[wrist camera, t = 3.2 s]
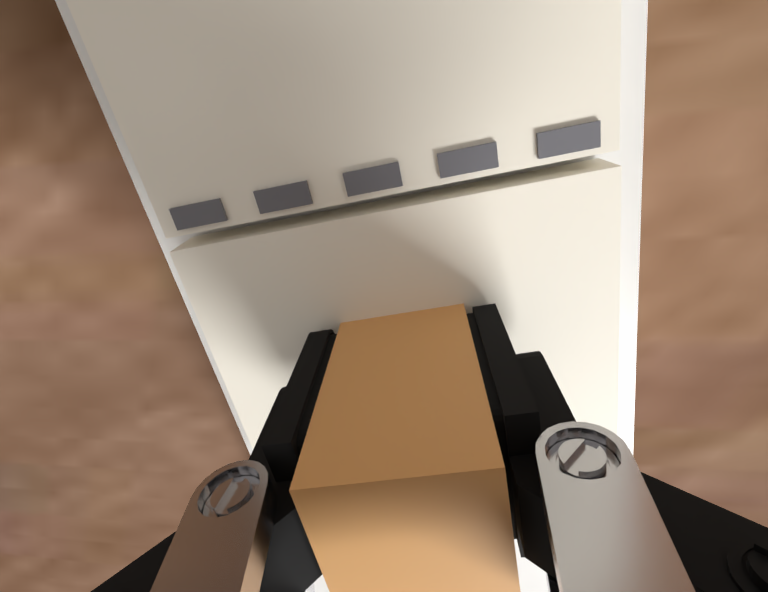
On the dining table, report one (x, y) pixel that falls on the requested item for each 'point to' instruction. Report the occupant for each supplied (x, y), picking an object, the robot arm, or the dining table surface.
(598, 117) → the board
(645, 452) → the dining table surface
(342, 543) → the stub
